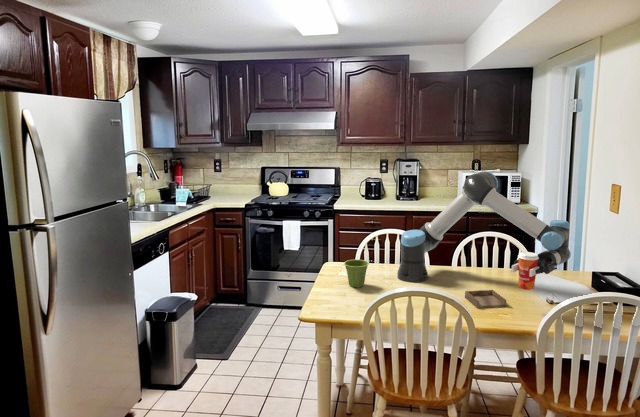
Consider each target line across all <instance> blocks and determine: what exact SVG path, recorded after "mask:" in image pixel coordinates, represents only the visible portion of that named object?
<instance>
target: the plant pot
mask: <svg viewBox="0 0 640 417" xmlns="http://www.w3.org/2000/svg"><path fill="white" fill-rule="evenodd" d="M369 264H370V263H369V261H367V260H364V259H348V260H346V261H344V263H343V265H344V266H345V269H346V270H345V271H346V275H347V280H348V285H349V287H352V288H362V287H364V285H365V282H366V275H367V269H368V265H369Z"/></svg>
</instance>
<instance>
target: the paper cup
mask: <svg viewBox="0 0 640 417" xmlns="http://www.w3.org/2000/svg"><path fill="white" fill-rule="evenodd" d="M517 257H518V259H519V270H518V288H520V289H521V290H525V291H531V290H534V288H535V284H536V283H535V282H536V277H537V274H536V275H534V276H532V277H530V276H529V273H530V269H532V268H535V267H537V262H538V259H539V257H538V254H537V253H535V252H531V251H526V252H525V251H523V252H522V251H521V252H519V254H518V255H517Z"/></svg>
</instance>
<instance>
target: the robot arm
mask: <svg viewBox="0 0 640 417" xmlns="http://www.w3.org/2000/svg"><path fill="white" fill-rule="evenodd" d="M498 180H499V179H497V176H495V174H493V173H492V172H490V171H479V172H478V173H473V174H470V175H469V176H467V177H466V178H465V180H464V183H463V186H461V190H462V192H460V193H459V194H458V195H457V196H456V197H455V198H454V199H453V200H452V201H451V202H450V203H449V204H448V205H447V206H446V207H445V208H444V209H443V210H442V211H441V212H440V213H438V215H437V216H436V217H435V218H434V219H433V220H432V221H431V222H428V221H427V222H426V223H424V224H423V226H421V227H420V228H419V229H410V230H409V229H408V230H406V231H404V232H403V233H402V234H401V236H400V237H401V238H400V264H399V267H398V270H397V273H396V274H397V275H396V276H397V278H398V280H401V281H404V282H409V283H411V282H412V283H417V282H418V283H420V282H424V281H427V280H428V279H429V274H428V270H427V266H426V263H425V260H426V259H425V257H426V256H425V255H426V254H425V253H427V252H429V251H432V250H434V249H435V248H437V246H438V245H439V243H440V242H441V241H442V240H443V238H444V234H445V233H446V232H447V231H448V230H450V229H451V227H452V226H454V225H455V224H456V223H457V222H458V221H459V220H461V219H462V218H463V217H464V215H465V214H467V212H469V211H470V210H471V209H472V208H473V207H474V206H475V205H480V206H482V207H484V206H486V207H487V208H488V209H490V210H492V211H494V212H495V213H496V214H498V215H500V216H501V217H503V218H504V219H505V220H506V221H508V222H510V223H512V224H513V225H515V226H516V227H518V228H519V229H520V230H522V231H524V233H526V234H528V235H529V236H530V237H533V238H534V239H535V240H537V241H538V242H540V243H541V245H542V247H543V248H544V249H546V250H545V251H541V252H540V253H538V254H537V255H538V257H539V259H538V262H537V267H535V268H532V269H530V273H529V276H530V277H532V276H534V275H536V276H537V275H539V274H545V275H549V274H550V273H551V272H553V271H557V270H558V266H559V265H561V264H562V265H563V264H565V263H566V262H567V261H569V259H570V258H571V253H572V252H571V250H570V248H569V247H568V246H569V244H568V243H569V233H570V223H569V221H567V220H563V219H554V220H551V221H550V222H549V223H550V224H547V223H545V222H544V221H543V220H541V219H539V218H538V217H537V216H535V215H533V214H532V213H530V212H529V211H527V210H526V209H524V208H522V207H521V206H519V205H518V204H516V203H514V202H513V201H512V200H510V199H508V197H505V196H504V195H503V194H500V193H499V192H498V191H497V189H498V187H499V181H498ZM515 272H519V258H518V259H515V260H514V261H513V264H512V265H511V273H515Z"/></svg>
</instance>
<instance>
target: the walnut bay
mask: <svg viewBox="0 0 640 417" xmlns="http://www.w3.org/2000/svg"><path fill="white" fill-rule="evenodd" d="M464 298H465V299H466V300H467V301H468V302H469V303H470V304H471V305H472V306H474V307H475V308H476V309H486V308H487V309H488V308H489V309H493V308H506V307H507V299H506V298H505V297H503V296H502V295H501V294H499V293H498V292H497V291H496V290H494V289H482V290H480V289H479V290H465V291H464Z"/></svg>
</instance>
